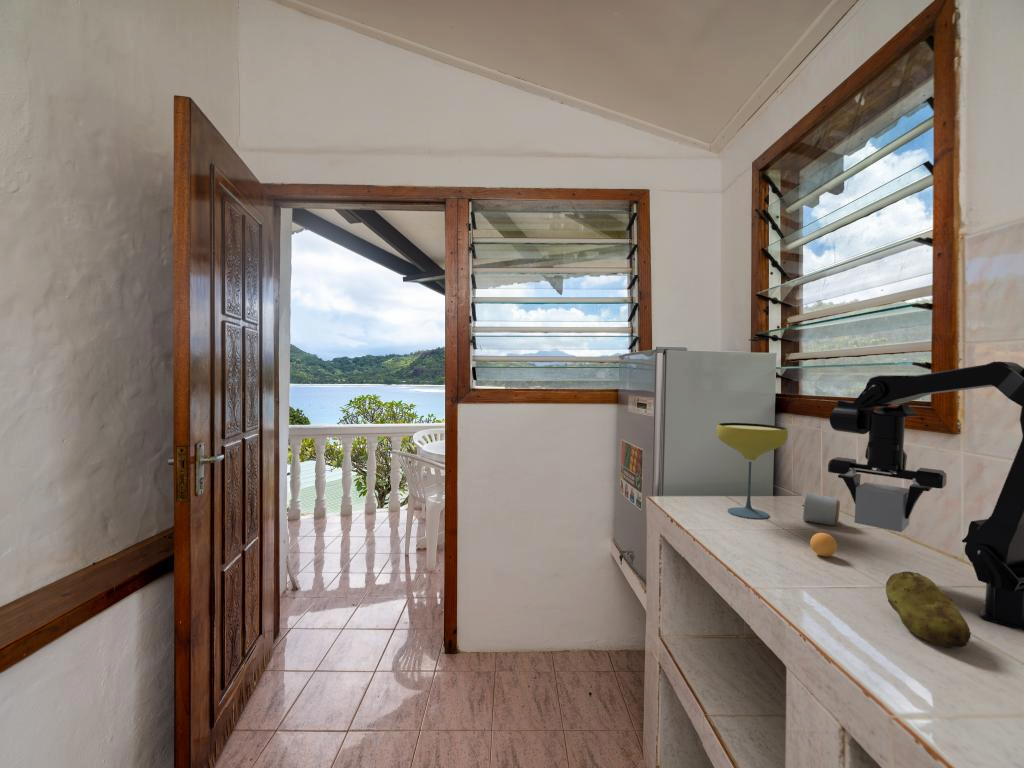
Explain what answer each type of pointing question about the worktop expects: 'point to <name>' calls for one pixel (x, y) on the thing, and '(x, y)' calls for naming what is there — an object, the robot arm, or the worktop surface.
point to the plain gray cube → (881, 506)
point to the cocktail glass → (751, 452)
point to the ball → (823, 544)
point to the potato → (927, 610)
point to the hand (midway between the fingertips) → (882, 513)
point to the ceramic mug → (821, 509)
